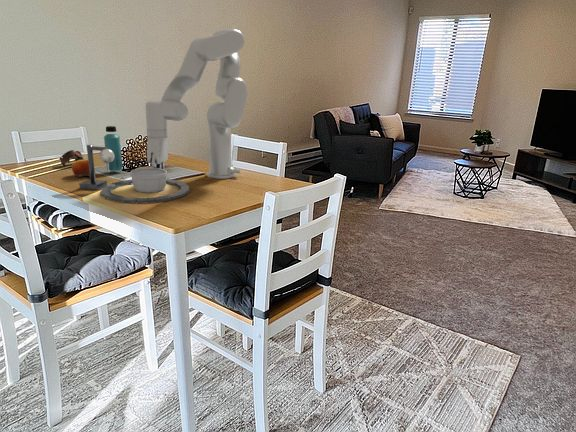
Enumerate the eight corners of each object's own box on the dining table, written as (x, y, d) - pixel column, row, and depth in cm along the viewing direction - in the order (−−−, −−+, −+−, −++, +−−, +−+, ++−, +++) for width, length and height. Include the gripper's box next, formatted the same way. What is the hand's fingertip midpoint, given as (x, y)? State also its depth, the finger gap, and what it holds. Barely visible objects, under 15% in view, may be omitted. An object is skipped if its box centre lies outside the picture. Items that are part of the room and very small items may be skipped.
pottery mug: (84, 169, 187) (72, 154, 182) (66, 177, 188) (53, 162, 183) (91, 157, 196) (80, 143, 192) (74, 165, 198) (62, 151, 193)
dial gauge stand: (120, 186, 161) (117, 145, 156) (111, 191, 154) (107, 148, 149) (90, 184, 162) (85, 143, 157) (79, 188, 155) (74, 146, 150)
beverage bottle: (117, 174, 178) (113, 127, 171) (103, 173, 179) (99, 126, 172) (126, 171, 184) (122, 126, 177) (112, 170, 185) (108, 124, 178)
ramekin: (174, 186, 164) (173, 169, 162) (156, 195, 152) (155, 176, 150) (144, 183, 167) (142, 166, 165) (124, 191, 155) (122, 173, 152)
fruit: (77, 176, 166) (72, 157, 167) (73, 182, 172) (68, 164, 173) (98, 174, 171) (93, 156, 172) (93, 180, 178) (89, 162, 178)
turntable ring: (199, 183, 170) (199, 180, 169) (171, 206, 141) (171, 202, 140) (126, 178, 172) (126, 175, 172) (84, 199, 143) (84, 195, 143)
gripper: (155, 130, 169) (158, 174, 175) (139, 135, 155) (142, 183, 161) (173, 131, 169) (175, 175, 175) (158, 136, 155) (161, 184, 161)
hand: (159, 179), depth 168 cm, fingers closed
